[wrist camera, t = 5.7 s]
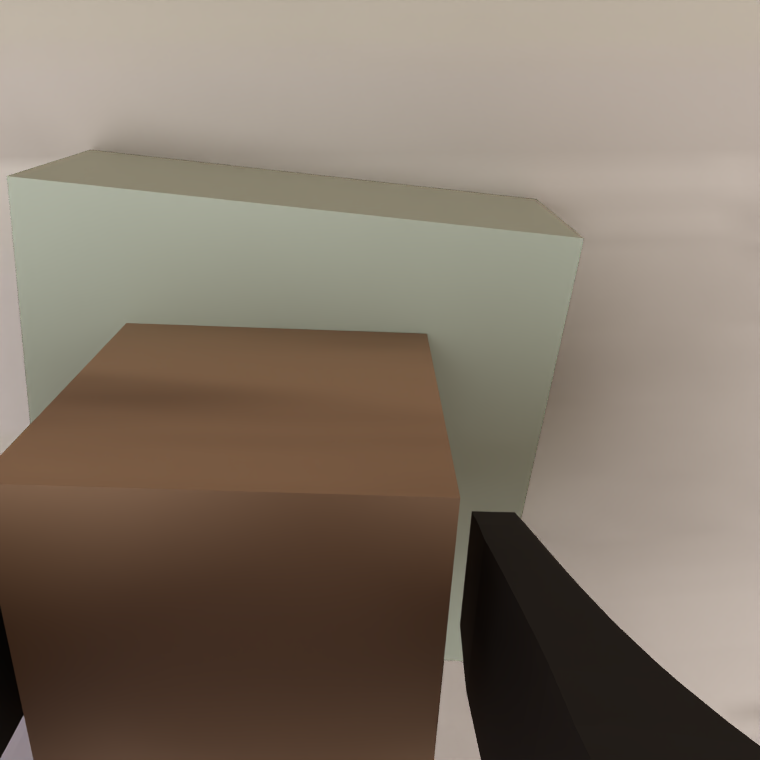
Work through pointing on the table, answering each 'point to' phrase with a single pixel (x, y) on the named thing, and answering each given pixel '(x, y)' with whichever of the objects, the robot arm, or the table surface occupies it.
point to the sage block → (307, 287)
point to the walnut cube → (233, 549)
